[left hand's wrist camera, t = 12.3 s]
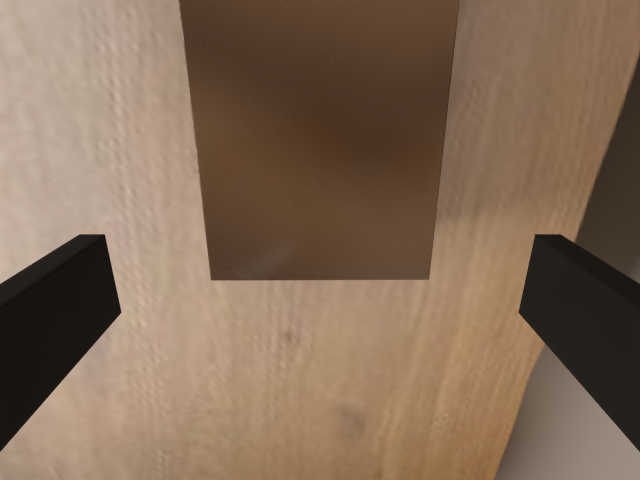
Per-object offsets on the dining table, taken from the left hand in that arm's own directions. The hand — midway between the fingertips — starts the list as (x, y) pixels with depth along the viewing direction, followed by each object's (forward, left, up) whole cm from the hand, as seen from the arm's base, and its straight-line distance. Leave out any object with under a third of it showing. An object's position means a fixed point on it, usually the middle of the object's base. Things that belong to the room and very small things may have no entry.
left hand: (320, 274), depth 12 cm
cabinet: (+6, +2, -16) cm, 17 cm away
